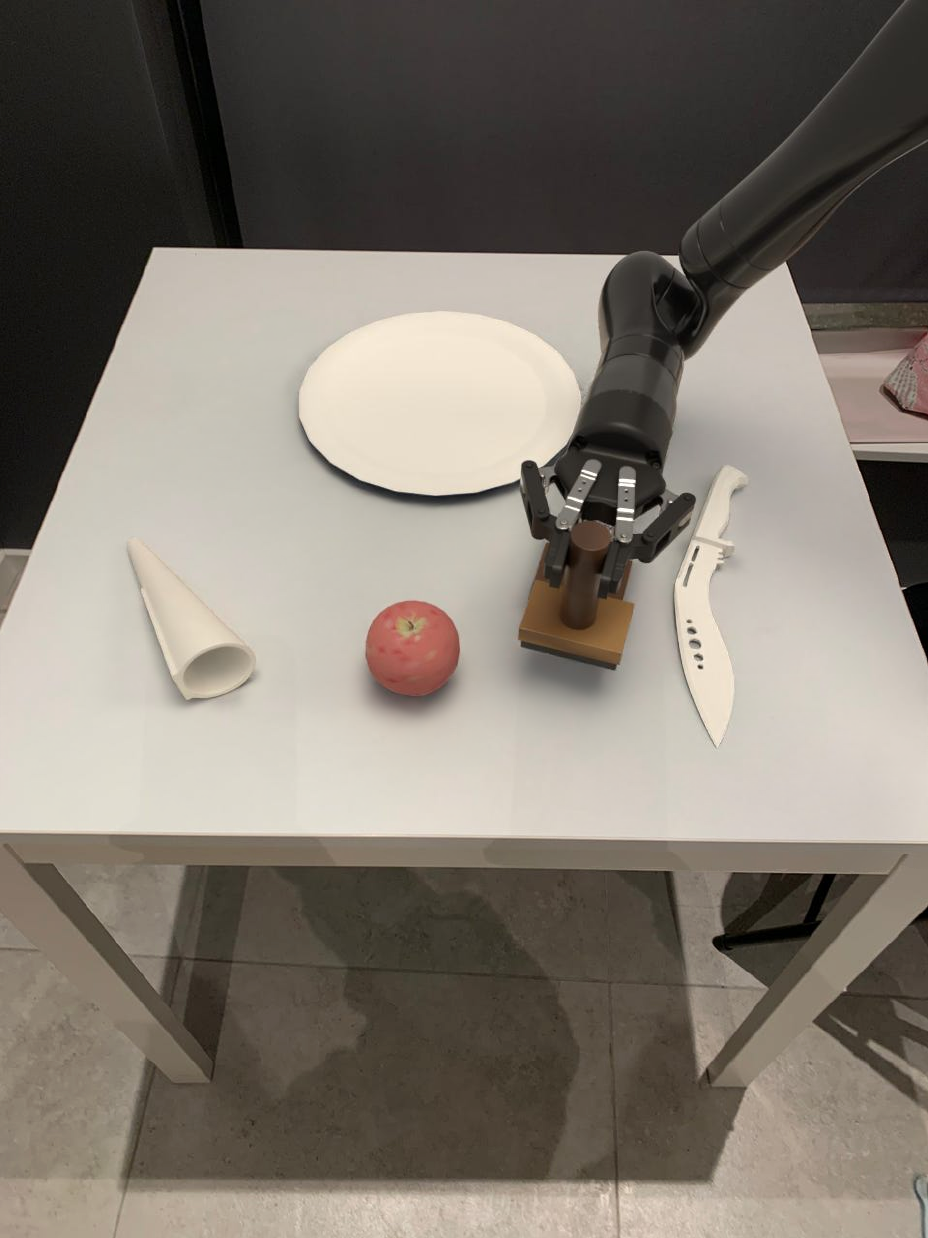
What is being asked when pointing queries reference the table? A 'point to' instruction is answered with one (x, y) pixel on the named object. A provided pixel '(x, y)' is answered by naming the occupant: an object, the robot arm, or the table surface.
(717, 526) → the knife
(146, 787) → the table surface
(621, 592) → the brown flat block
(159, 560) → the long cone
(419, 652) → the apple
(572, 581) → the wooden handled stamp
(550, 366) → the plate
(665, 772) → the table surface
